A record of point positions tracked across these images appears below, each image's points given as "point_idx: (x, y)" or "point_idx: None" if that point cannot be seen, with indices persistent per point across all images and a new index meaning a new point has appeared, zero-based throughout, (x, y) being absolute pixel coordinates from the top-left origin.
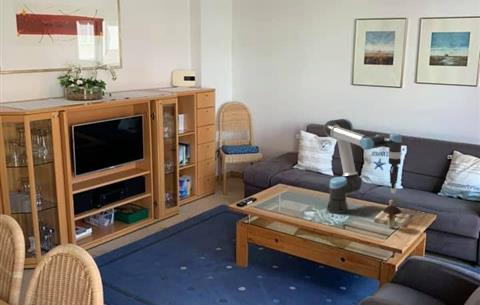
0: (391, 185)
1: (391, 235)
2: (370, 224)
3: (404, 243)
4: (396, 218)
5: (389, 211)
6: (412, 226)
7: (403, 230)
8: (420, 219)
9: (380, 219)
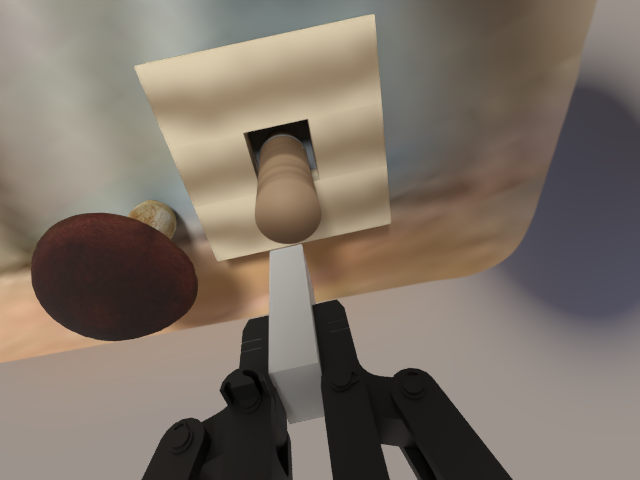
0: (269, 340)
1: None
2: (80, 67)
3: (33, 351)
4: None
5: (40, 303)
6: None
7: None
8: (414, 253)
9: (160, 123)
